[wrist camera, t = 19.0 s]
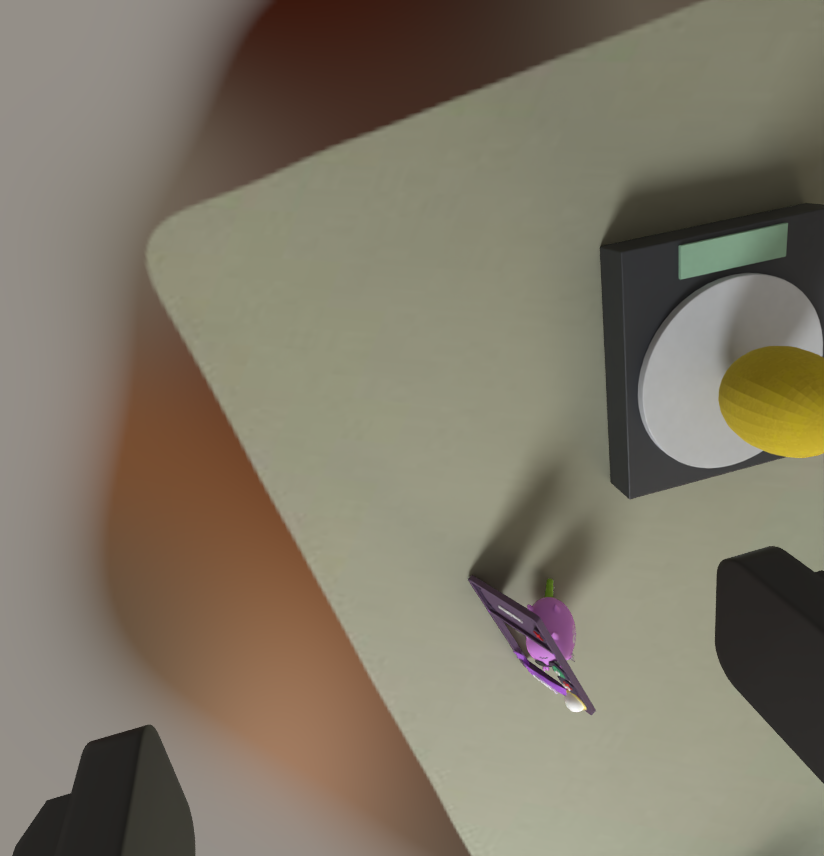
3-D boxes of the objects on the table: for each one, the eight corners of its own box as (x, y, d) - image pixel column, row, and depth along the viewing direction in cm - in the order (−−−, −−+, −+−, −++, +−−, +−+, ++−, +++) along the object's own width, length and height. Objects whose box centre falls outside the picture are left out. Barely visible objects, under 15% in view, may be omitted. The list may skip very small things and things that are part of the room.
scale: (599, 246, 37) (626, 253, 35) (806, 202, 39) (847, 206, 37) (610, 482, 43) (634, 504, 41) (789, 435, 45) (823, 453, 43)
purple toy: (526, 630, 37) (585, 725, 41) (587, 566, 39) (638, 664, 43) (458, 585, 43) (515, 673, 47) (514, 532, 45) (565, 620, 49)
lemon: (727, 439, 40) (832, 501, 33) (671, 389, 38) (771, 443, 31) (792, 366, 40) (915, 413, 32) (739, 310, 37) (857, 347, 30)
